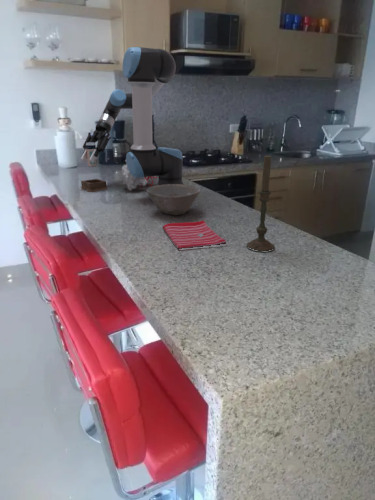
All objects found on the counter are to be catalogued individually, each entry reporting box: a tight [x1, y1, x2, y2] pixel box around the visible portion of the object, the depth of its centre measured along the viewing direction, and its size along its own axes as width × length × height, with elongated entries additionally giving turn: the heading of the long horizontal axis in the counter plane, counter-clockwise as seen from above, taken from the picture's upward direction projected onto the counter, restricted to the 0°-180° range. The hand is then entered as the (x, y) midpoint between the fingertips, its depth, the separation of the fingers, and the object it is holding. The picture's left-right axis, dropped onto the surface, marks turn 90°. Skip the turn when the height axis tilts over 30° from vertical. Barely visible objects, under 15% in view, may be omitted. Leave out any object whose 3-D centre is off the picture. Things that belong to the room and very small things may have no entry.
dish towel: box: [162, 220, 227, 250], centre depth 136 cm, size 17×24×3 cm
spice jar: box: [86, 142, 98, 168], centre depth 199 cm, size 5×5×12 cm
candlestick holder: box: [246, 154, 276, 251], centre depth 121 cm, size 9×9×30 cm
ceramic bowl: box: [146, 184, 201, 216], centre depth 163 cm, size 22×23×10 cm
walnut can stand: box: [80, 178, 108, 193], centre depth 205 cm, size 10×10×4 cm
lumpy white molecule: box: [121, 159, 158, 192], centre depth 208 cm, size 20×18×25 cm
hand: (87, 160), depth 197 cm, fingers closed on spice jar, 5 cm apart
